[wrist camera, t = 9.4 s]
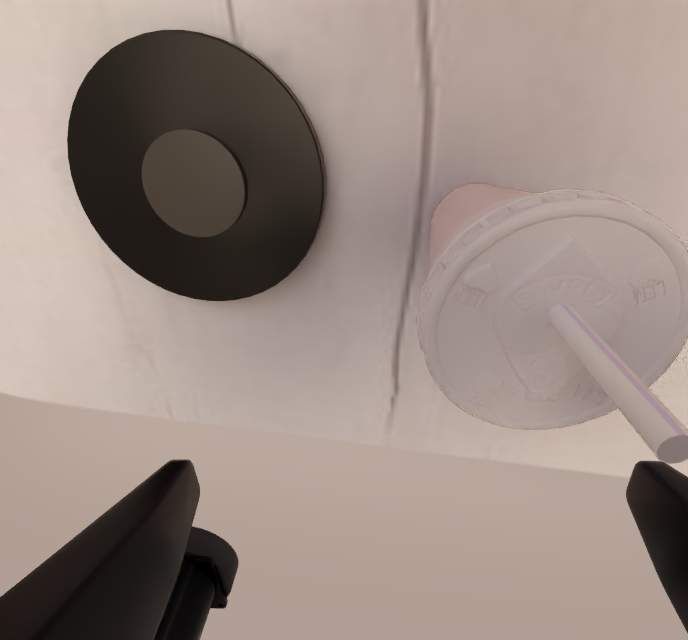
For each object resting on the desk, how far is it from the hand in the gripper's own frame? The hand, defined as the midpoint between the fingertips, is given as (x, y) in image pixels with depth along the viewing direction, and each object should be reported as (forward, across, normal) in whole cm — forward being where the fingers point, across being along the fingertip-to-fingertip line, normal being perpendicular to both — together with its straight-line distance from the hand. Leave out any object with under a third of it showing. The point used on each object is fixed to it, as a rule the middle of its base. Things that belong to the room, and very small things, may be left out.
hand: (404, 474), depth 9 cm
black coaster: (+13, +8, -4) cm, 16 cm away
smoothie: (+13, -4, -2) cm, 13 cm away
